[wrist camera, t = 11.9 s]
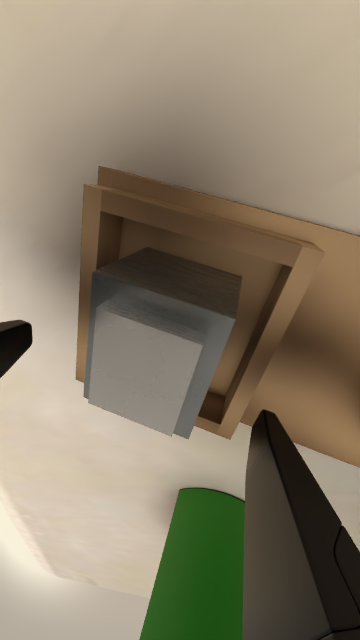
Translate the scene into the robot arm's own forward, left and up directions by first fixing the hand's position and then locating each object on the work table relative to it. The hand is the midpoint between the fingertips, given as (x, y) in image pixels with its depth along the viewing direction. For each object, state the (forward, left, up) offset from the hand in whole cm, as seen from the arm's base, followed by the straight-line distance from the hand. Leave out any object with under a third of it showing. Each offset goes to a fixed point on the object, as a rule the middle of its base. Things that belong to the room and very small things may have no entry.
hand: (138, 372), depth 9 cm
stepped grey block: (0, 0, -6) cm, 6 cm away
